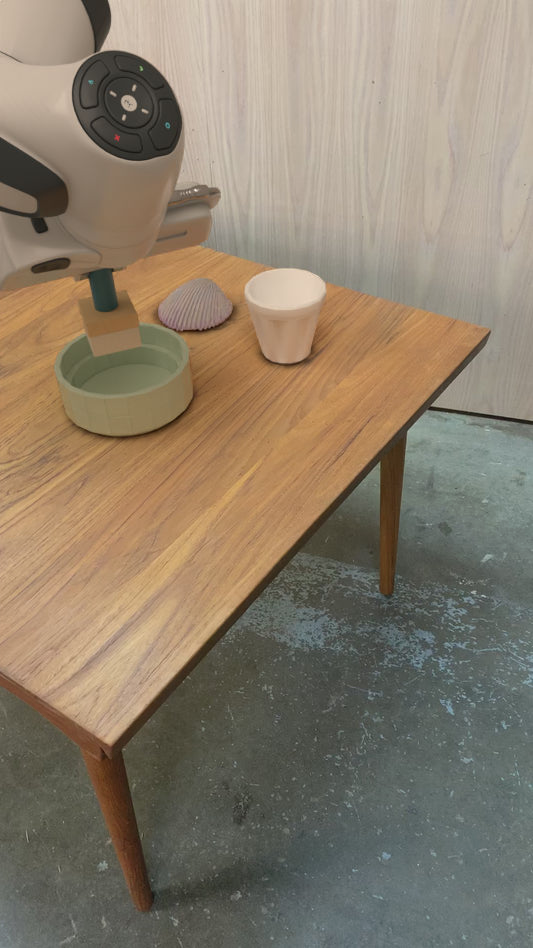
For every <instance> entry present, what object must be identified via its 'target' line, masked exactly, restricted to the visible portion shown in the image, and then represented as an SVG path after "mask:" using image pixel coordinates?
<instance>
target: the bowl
mask: <svg viewBox="0 0 533 948" xmlns="http://www.w3.org/2000/svg"><path fill="white" fill-rule="evenodd" d="M139 333H140V338H141V344H142V346H141V347H137V348H132V349H128V350H123V351H119V352H115V353H110V354H106V355H101V356H97V357H94V355H93V352H92V349H91V347H90V344H89V341H88V339H87V336H86V333H85V332H83V333H81V334H79V335H77V336H76V337H75V338H73V339H72V340H70V341H69V342H67V343H65V345H64V346H63V347H62V348H61V350H59V352H58V353H57V355H56V358H55V361H54V365H53V372H54V374H55V378H56V382H57V386H58V391H59V393H60V398H61V401H62V406H63V408H64V412H65V415H66V416H67V417H68V418H69V419H70V420H71V421H72V422H73V423H74V424H75V425H76V426H77V427H79V428H82V429H84V430H86V431H88V432H91V433H95V434H97V435H102V436H107V437H133V436H138V435H143V434H146V433H150V432H153V431H155V430H158V429H161V428H163V427H164V426H167V425H168V424H169V423H171V422H173V421H174V420H175V419H176V418H177V417H178V416H180V415H181V414H182V413H183V412H185V410H187V408H188V407H189V405H190V403H191V401H192V399H193V398H194V377H193V368H192V359H191V358H192V357H191V351H190V348H189V345H188V344H187V342H186V340H185V338H184V337H183V336H181V335H180V334H179V333H177V331H175V330H173V329H172V328H169V327H167V326H166V327H165V326H164V325H160V324H157V323H151V322H142V321H139Z"/></svg>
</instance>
